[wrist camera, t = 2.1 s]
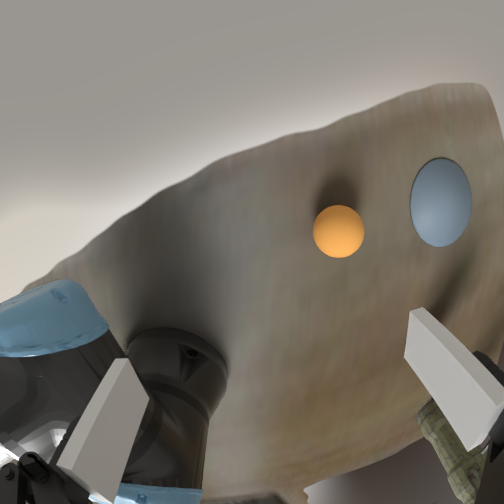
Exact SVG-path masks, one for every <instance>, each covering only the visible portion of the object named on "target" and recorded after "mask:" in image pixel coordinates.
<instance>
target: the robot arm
mask: <svg viewBox="0 0 504 504" xmlns="http://www.w3.org/2000/svg"><path fill="white" fill-rule="evenodd" d="M404 358H405V359H406V361H407V362H408V363H409V365H410V366H411V367H412V369H413V370H414V372H415V373H416V374H417V376H418V377H419V379H420V380H421V381H422V383H423V384H424V386H425V387H426V389H427V390H428V391H429V393H430V394H431V396H432V397H433V399H434V400H435V402H436V403H437V405H438V406H439V408H440V409H441V411H442V412H443V414H444V415H445V417H446V418H447V420H448V421H449V423H450V424H451V426H452V428H453V429H454V431H455V432H456V434H457V435H458V437H459V439H460V440H461V442H462V443H463V445H464V447H465V448H466V450H467V452H468V451H470V450H471V449H473V448H475V447H476V446H478V445H479V444H480V443H482V442H483V440H484V439H485V438H486V436H487V435H488V434H489V436H490V437H491V439H490V440H489V442H488V443H487V444H486V446H485V447H484V448H483V450H482V452H481V454H484V452H485V451H486V450H487V448H488V450H487V453H486V454H487V455H486V460H485V465H484V470H483V474H482V478H481V482H480V486H479V489H478V493H477V496H476V499H475V503H474V504H504V373H503V371H502V370H499V367H498V366H497V365H496V364H494V362H493V361H492V360H491V359H490V358H489V357H488V356H487V355H485V354H483V353H481V352H479V351H475V352H474V353H471V352H470V351H469V350H468V349H467V348H466V347H465V346H464V345H463V344H462V343H461V342H460V341H459V340H458V339H457V338H456V337H455V336H454V335H452V334H451V333H450V332H449V331H448V330H447V329H446V328H445V327H444V326H443V325H442V324H441V323H440V322H439V321H438V320H437V319H436V318H434V317H433V316H432V315H431V314H430V313H429V312H428V311H427V310H426V309H425V308H423V307H421V308H418V309H415V310H412V311H410V315H409V324H408V332H407V340H406V347H405V354H404ZM226 386H227V369H226V366H225V363H224V361H223V359H222V358H221V356H220V355H219V353H218V352H217V351H216V350H215V349H214V348H213V347H212V346H211V345H210V344H208V343H207V342H206V341H204V340H203V339H201V338H199V337H197V336H195V335H193V334H191V333H188V332H185V331H182V330H178V329H172V328H156V329H151V330H147V331H145V332H142V333H141V334H139V335H138V336H136V337H135V338H134V339H133V340H132V342H131V343H130V345H129V346H128V348H127V350H126V351H125V353H124V352H123V350H122V349H121V347H120V346H119V344H118V342H117V341H116V339H115V338H114V336H113V335H112V333H111V331H110V330H109V325H108V323H107V321H106V320H105V319H104V318H103V317H102V316H100V314H99V312H98V311H97V309H96V308H95V306H94V304H93V303H92V301H91V299H90V298H89V296H88V294H87V293H86V291H85V290H84V288H83V287H82V286H81V285H80V284H78V283H77V282H75V281H72V280H68V279H60V280H56V281H53V282H49V283H46V284H44V285H41V286H38V287H36V288H33V289H31V290H28V291H26V292H23V293H21V294H19V295H17V296H15V297H12V298H10V299H8V300H6V301H4V302H2V303H0V467H1V466H3V465H4V466H3V467H2V468H1V470H0V504H26V502H27V503H28V504H93V503H92V502H91V500H90V499H92V500H94V501H96V502H98V503H100V504H199V503H200V499H201V495H202V493H203V490H202V480H203V470H204V461H205V452H206V443H207V435H208V426H209V420H210V418H211V416H212V415H213V413H214V412H215V410H216V408H217V407H218V405H219V403H220V402H221V400H222V399H223V397H224V395H225V391H226ZM50 458H51V460H50V462H49V464H47V463H46V462H45V461H47V460H49V459H50ZM13 459H17V460H18V462H17V465H15V464H14V463H8V462H10V461H12V460H13ZM6 463H7V464H6ZM89 498H90V499H89Z"/></svg>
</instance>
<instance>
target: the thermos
mask: <svg viewBox="0 0 504 504" xmlns="http://www.w3.org/2000/svg"><path fill="white" fill-rule="evenodd" d="M416 420H417V422H418V423H419V425H420V429H421V431H422V433H423V434H424V436H425V438H426V439H428V440H429V441H430V442H431V443H432V445H433V447H434V449H435V451H436V453H437V454H438V456H439V458H440V460H441V462H442V464H443V466H444V467H445V469H446V471H447V473H448V481H449V483H450V485H451V487H452V489H453V491H454V493H455V495H456V497H457V498H459V499H460V500H461V501H462V502H463V504H474V503H475V499H476V496H477V493H478V489H479V486H480V482H481V478H482V474H483V470H484V465H485V460H486V455H487V454H486V453H487V452H486V451H485V452H484V454H481V452H482V450H483V448H481V447H480V445H478V446H476V447H475V448H473V449H471V450H470V451H468V452H467V450H466V448H465V447H464V445H463V443H462V442H461V440H460V439H459V437H458V435H457V434H456V432H455V431H454V429H453V428H452V426H451V424H450V423H449V421H448V420H447V418H446V417H445V415H444V414H443V412H442V411H441V409H440V408H439V406H438V405H437V403H436V402H435V400H434V399H433V400H431V401H430V402H429V403H427V404H426V405H425V406H424V407H423V408H422V409H421V410H420V412H419V413H418V415H417V417H416Z"/></svg>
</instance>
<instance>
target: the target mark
mask: <svg viewBox="0 0 504 504" xmlns="http://www.w3.org/2000/svg"><path fill="white" fill-rule="evenodd" d="M471 207H472V196H471V189H470V185H469V182H468V180H467V177H466V175H465V174H464V172H463V171H462V169H461V168H460V167H459V166H458V165H457V164H455V163H454V162H452V161H450V160H447V159H436V160H433V161H431V162H429V163H427V164H426V165H425V166H424V167H423V168H422V169H421V170H420V172H419V173H418V175H417V177H416V179H415V181H414V184H413V187H412V191H411V197H410V211H411V217H412V222H413V224H414V227H415V229H416V231H417V233H418V234H419V236H420V237H421V238H422V239H423V240H424V241H425V242H426V243H428V244H430V245H432V246H436V247H443V246H447V245H450V244H451V243H453V242H454V241H456V240H457V239H458V238H459V237H460V236H461V234H462V233H463V231H464V230H465V228H466V226H467V224H468V221H469V218H470V214H471Z"/></svg>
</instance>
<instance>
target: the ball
mask: <svg viewBox="0 0 504 504" xmlns="http://www.w3.org/2000/svg"><path fill="white" fill-rule="evenodd" d="M313 236H314V240H315V242H316V244H317V246H318V247H319V249H320V250H321V251H323V252H324V253H325V254H327V255H329V256H332V257H337V258H339V257H346V256H349V255H351V254H352V253H354V252H355V251H356V250H357V249H358V248H359V247H360V245H361V243H362V241H363V238H364V225H363V222H362V220H361V218H360V216H359V215H358V214H357V213H356V212H355V211H354V210H353V209H351V208H349V207H347V206H343V205H334V206H330V207H327V208H326V209H324V210H323V211H322V212H321V213H320V214H319V215H318V216H317V218H316V220H315V222H314V225H313Z"/></svg>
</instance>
